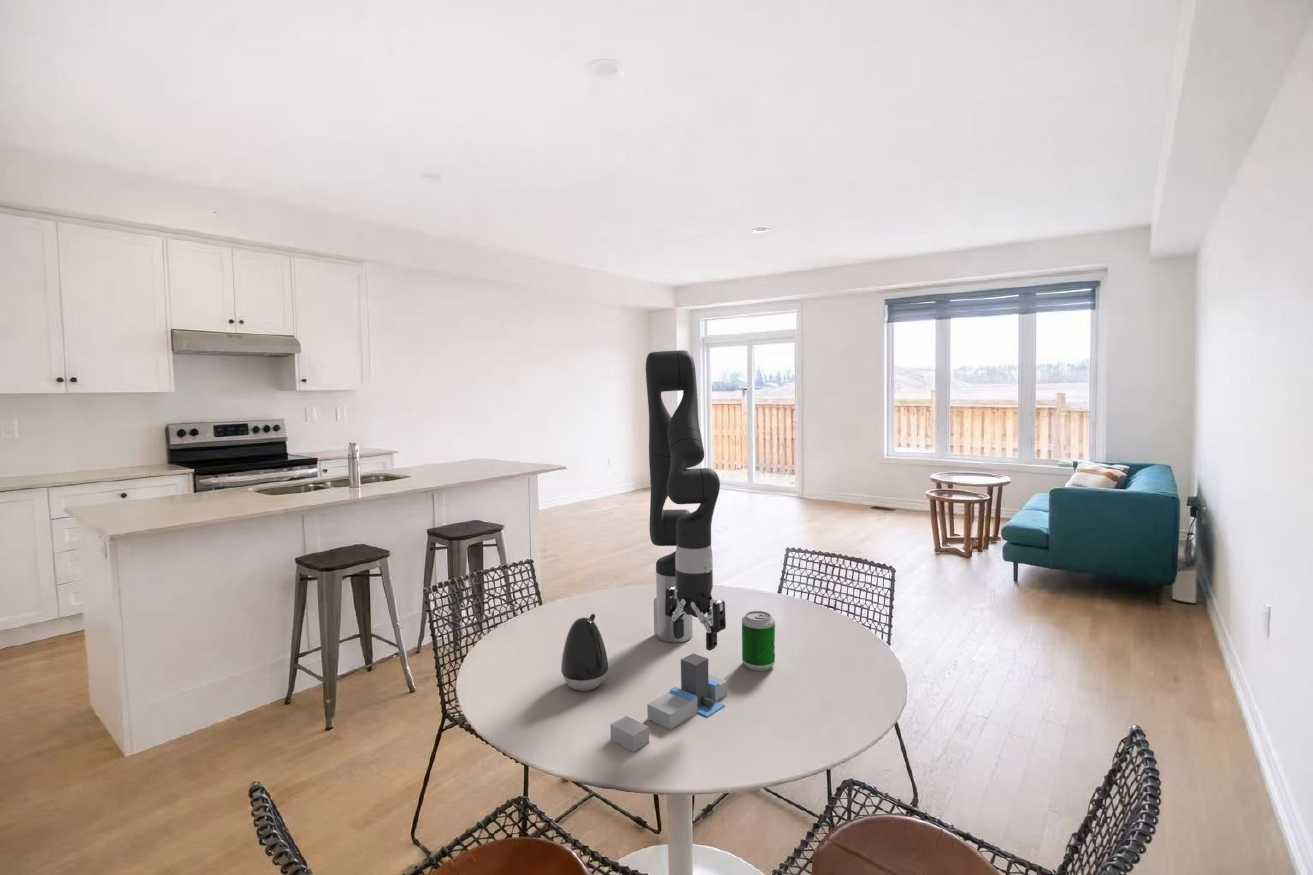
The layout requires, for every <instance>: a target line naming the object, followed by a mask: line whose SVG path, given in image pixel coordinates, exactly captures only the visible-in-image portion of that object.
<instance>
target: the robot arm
mask: <svg viewBox="0 0 1313 875" xmlns="http://www.w3.org/2000/svg"><path fill="white" fill-rule="evenodd" d="M645 359H646V360H645V380H646V392H647V393H646V394H647V404H648V407H647V408H648V424H649V425H648V461H649V462H648V464H649V477H650V478H649V479H650V480H649V481H650V502H649V505H650V506H649V508H650V509H649V537H650V541H651V544H653V545H654V546H657V547H675V546H676V549H675V551H673V552H672V553H669V554H667V555H665V556H662V557H659V558H658V559H657V561H656V562H655V585H656V588H655V589H656V590H655V591H656V597H655V598H654V599H653V635H655V636H657V637H656V638H658V640H660V641H661V642H662V641H663V642H667V643H675V644H676V643H683V642H686V641H689V640H690V639H692V637H693V618H694V617H695V618H697V619H698V620H699V622H700V623H701V624H702V625H703V626H704V628H705V631H706V632H705V650H707V651H709V652H710V651H713V650H715V648H716V647H717V646H718V633H719V632H721V631H723V630H725V629H726V628H727V621H726V619H727V618H726V601H725V600H723V599H720V600H716V599H713V597H712V589H713V586H714V579H713V578H714V576H713V572H714V570H713V567H714V566H713V564H714V563H713V560H714V559H713V558H714V557H713V550H712V522H713V515H714V512H715V508H716V504H717V501H718V497H719V494H720V488H721V481H720V478H719V475H718V473H717V472H716V471H715V470H714V469H712V468H709V467H702V468H701V467H699V468H694V467H696V466H698V465H699V464H701V463H702V462H703V460H704V459H705V448H704V445H703V439H702V438H703V437H702V434H701V429H700V423H699V422H700V421H699V406H698V405H699V403H698V388H697V373H696V364H695V361H694V357H693V354H692V353H691V352H690V351H688V350H683V349H681V350H679V349H678V350H659V351H652V352H649V353H648V354H647V356H646V358H645ZM677 391H678V392H679V391H682V397H681V400H680V403H678V406H677V407H676V410H674V413H673V414H672V416H671V414H670V413H669V411H668V409H667V407H666V405H665V404H664V401H663V399H662V393H665V392H677ZM668 498H669V499H670V501H671V502H672V503H674V504H675V505H694V504H697V505H698V504H699V506H698V508H697V509H696V510H694V511H693V512H690V511H689V510H688V509H664V507H665V503H666V501H667V499H668ZM706 614H707V616H706Z"/></svg>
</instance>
